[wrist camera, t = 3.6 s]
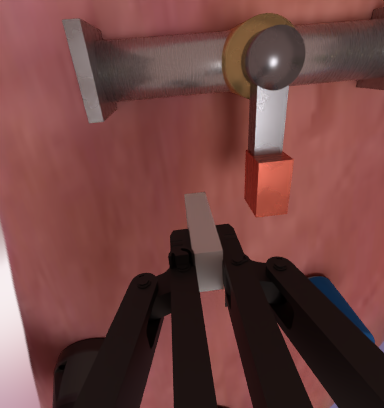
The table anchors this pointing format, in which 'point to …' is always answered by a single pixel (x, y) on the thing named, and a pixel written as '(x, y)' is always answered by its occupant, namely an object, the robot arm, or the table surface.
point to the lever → (269, 116)
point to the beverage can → (339, 302)
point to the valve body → (214, 60)
